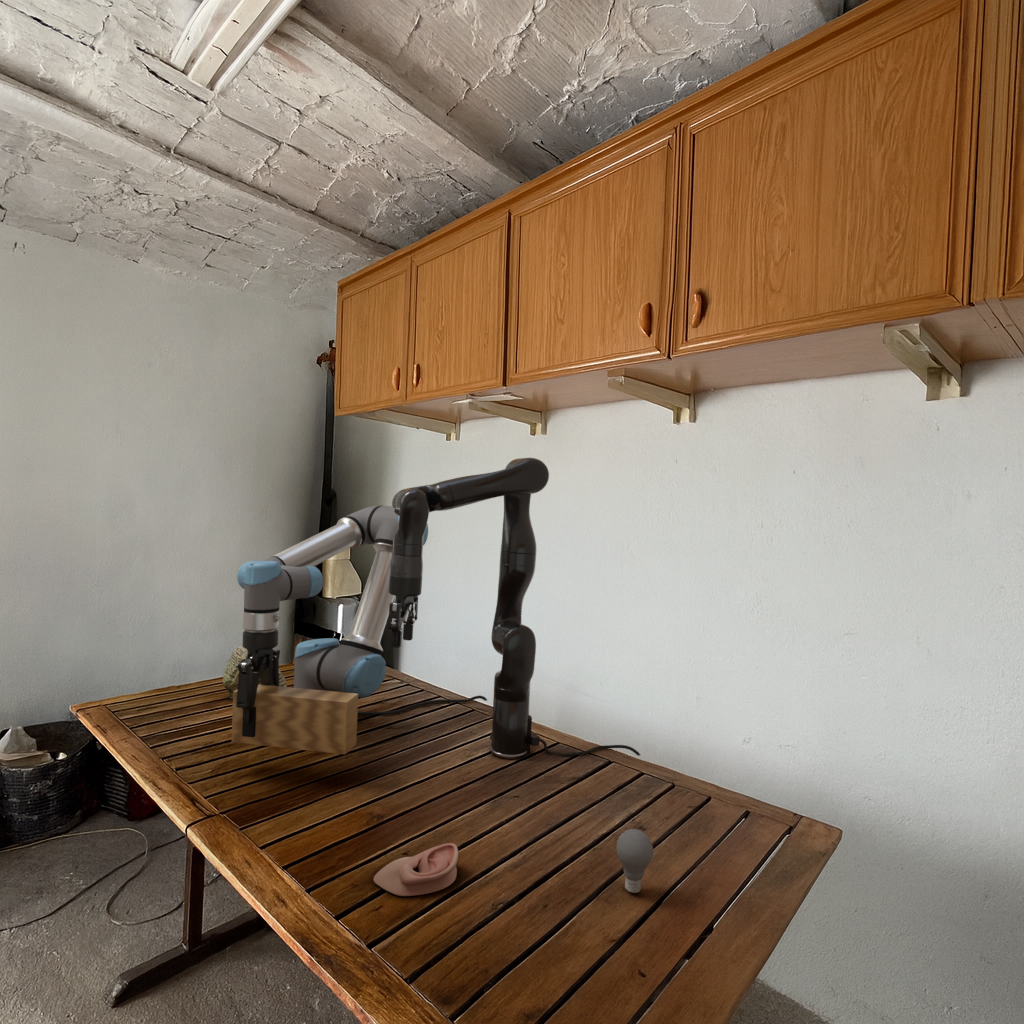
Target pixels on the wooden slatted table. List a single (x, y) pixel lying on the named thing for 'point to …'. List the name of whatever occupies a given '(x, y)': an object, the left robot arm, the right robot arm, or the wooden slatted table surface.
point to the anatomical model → (420, 872)
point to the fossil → (233, 673)
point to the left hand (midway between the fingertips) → (257, 730)
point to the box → (300, 719)
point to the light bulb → (634, 857)
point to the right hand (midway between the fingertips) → (401, 643)
